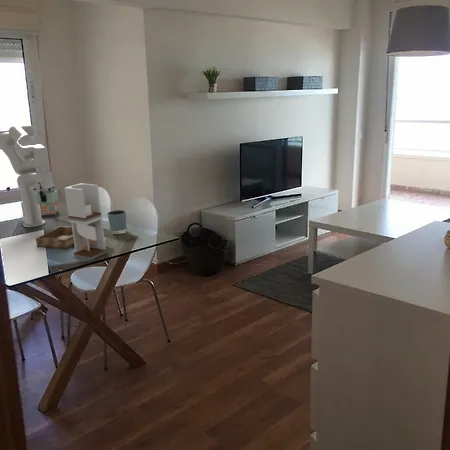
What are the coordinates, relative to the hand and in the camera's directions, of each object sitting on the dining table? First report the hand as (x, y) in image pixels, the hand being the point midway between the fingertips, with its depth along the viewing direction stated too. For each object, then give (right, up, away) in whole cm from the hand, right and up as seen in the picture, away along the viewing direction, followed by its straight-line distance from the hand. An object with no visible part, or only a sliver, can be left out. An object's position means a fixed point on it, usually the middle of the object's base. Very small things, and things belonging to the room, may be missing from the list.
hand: (47, 200), depth 289 cm
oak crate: (+12, -23, -10) cm, 28 cm away
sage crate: (0, -1, 0) cm, 1 cm away
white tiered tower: (+33, -29, -32) cm, 54 cm away
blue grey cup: (+40, -19, +1) cm, 44 cm away
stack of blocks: (-22, -7, +49) cm, 54 cm away
